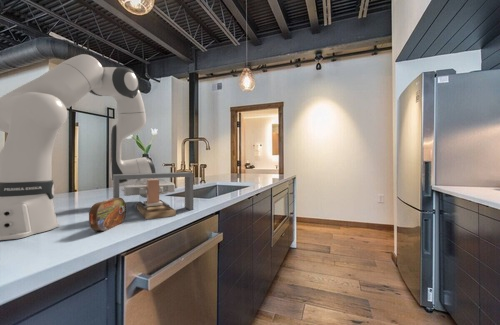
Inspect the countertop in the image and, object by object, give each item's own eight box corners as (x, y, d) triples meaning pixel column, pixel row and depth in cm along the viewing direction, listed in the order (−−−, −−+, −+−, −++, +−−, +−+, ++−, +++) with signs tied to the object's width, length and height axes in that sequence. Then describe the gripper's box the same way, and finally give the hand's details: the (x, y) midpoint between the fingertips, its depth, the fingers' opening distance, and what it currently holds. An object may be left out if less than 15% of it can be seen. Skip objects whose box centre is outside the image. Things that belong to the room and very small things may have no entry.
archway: (114, 219, 82) (114, 175, 81) (113, 215, 87) (113, 174, 87) (193, 209, 97) (193, 172, 97) (188, 207, 102) (188, 172, 102)
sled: (146, 206, 91) (146, 180, 91) (143, 203, 97) (143, 179, 97) (162, 205, 95) (162, 180, 94) (158, 202, 100) (158, 178, 100)
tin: (97, 234, 64) (97, 204, 64) (86, 234, 65) (86, 204, 64) (127, 220, 80) (127, 195, 79) (118, 220, 80) (118, 195, 80)
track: (146, 219, 81) (146, 211, 81) (137, 208, 99) (136, 201, 99) (175, 215, 86) (175, 207, 86) (161, 206, 104) (161, 199, 104)
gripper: (121, 181, 101) (124, 184, 89) (170, 179, 112) (178, 181, 100) (121, 196, 101) (124, 201, 90) (170, 192, 112) (178, 196, 101)
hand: (153, 191), depth 95 cm, fingers closed on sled, 4 cm apart
